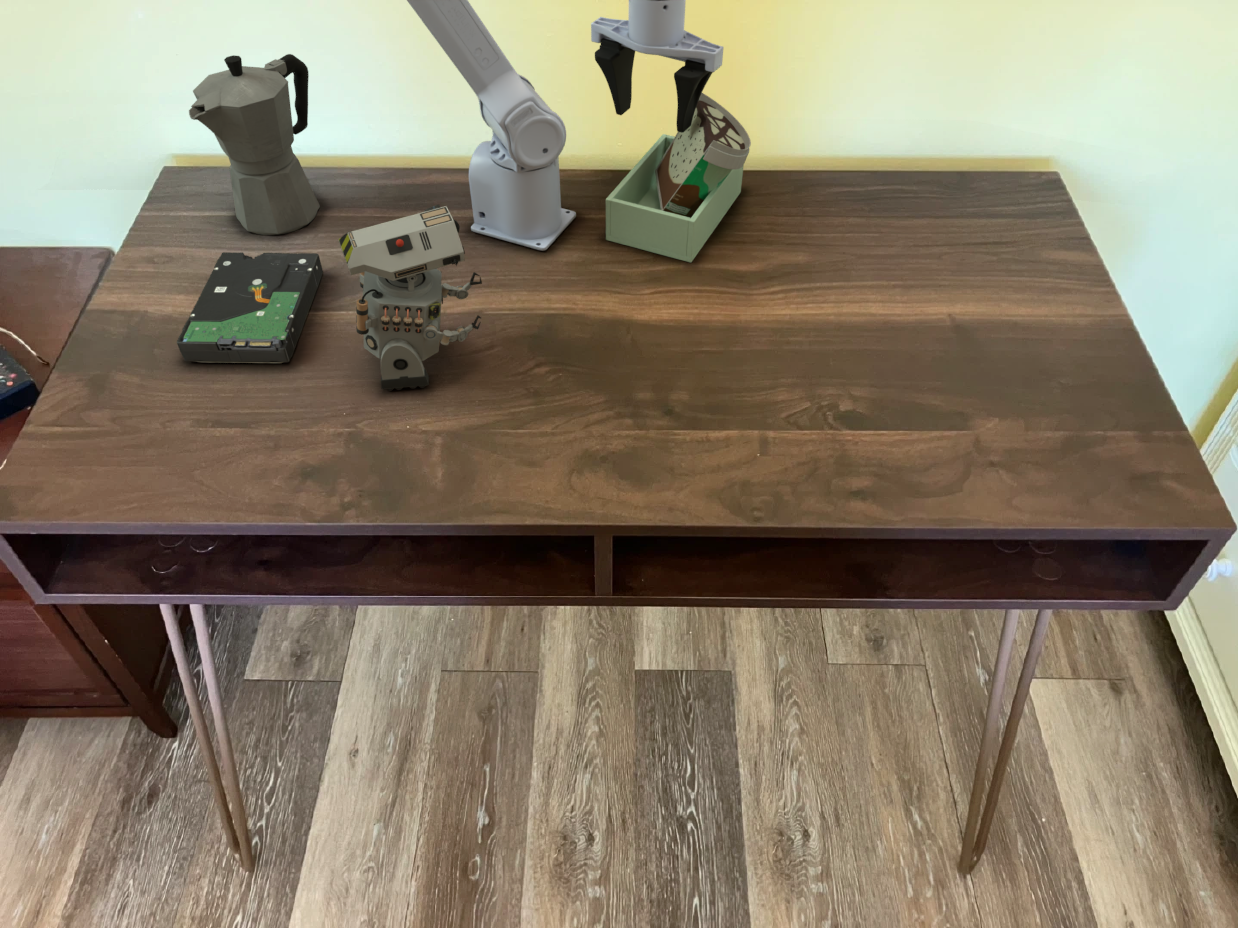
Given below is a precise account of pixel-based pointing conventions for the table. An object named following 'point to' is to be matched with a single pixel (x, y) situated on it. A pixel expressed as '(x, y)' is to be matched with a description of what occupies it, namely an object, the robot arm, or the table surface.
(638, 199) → the storage bin
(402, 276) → the figurine
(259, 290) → the disk drive
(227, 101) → the coffeepot
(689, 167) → the food container
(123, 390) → the table surface
